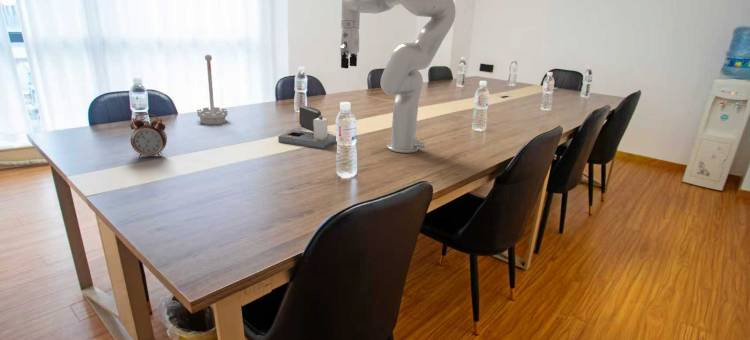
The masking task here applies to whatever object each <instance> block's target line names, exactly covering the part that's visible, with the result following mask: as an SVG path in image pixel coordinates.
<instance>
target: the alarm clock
mask: <svg viewBox="0 0 750 340" xmlns="http://www.w3.org/2000/svg"><path fill="white" fill-rule="evenodd" d="M140 116H152V117H155V119H154V120H152V122H151V123H150V121H148V120H147V121H144V120H142V119H140V118H138V117H140ZM131 120H132V121H130V124H129V127H130V129H131V130H132V133H131V136H130V145H131V147H132V148H133V150H134V151H135V152H137V154H138V155H139V156H138V158H139V159H140V158H141V156H145V157H152V156H153V157H154V156H156V155H157V156H159V158H162V156H161V155H163V151H164V149H165V148H166V147H167V146H166V145H167V141H168V137H167V133H166V131H165V130H166V123H165V122H164V121H163V118H160V119H159V117H157V115H156V114H153V113H140V114H137V115H136V116H135V118H134V117H133V118H132V119H131Z"/></svg>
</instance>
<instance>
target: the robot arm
mask: <svg viewBox="0 0 750 340" xmlns="http://www.w3.org/2000/svg"><path fill="white" fill-rule="evenodd" d="M397 5H401V6H402V7H403V8H404V9H406V10H407V11H408V12H409V13H410V14H412V15H414V16H416V17H423V18H424V17H425V18H430V20H429V21H428V22H427V23H425V25H424V26H423V27H422V28H421V30H420V32H419V34H418V35H417V38H416V39H415V40H414V41H413V42H405V43H402V44H400V45H398V46H397V47H396V48H395V49H394V50H393V52H392V54H391V55H390V58H389V60H388V61H387V62H386V63H387V64H386V66H385V68H384V69H383V72H382V74H381V77H380V87H381V90H382V92H383V93H385V94H386V95H388V96H395V98H394V101H393V108H392V109H393V110H392V124H391V136H390V137H391V139H390V142H388V143H387V144H386V149H387V150H389V151H392V152H396V153H403V154H406V153H407V154H409V153H414V152H415V153H416V152H418V150H419V148H422V149H426V143H425V142H424V141H419V140H418V137H417V135H416V134H417V122H418V112H419V102H420V97H421V92H422V89H423V83H424V82H423V81H424V79H423V75H422V73H421V72H420V71H421V70H426V69H427V68H428V67H429V66H430V65H431V63H432V61H433V60H434V58H435V56H436V54H437V52H438V51H439V49H440V48H441V45H442V44H443V41H444V39H445V38H446V36H447V35H448V34H449V32H450V30H451V28H452V26H453V25H454V23H455V19H456V14H457V13H456V5H455V2H454V0H341V17H340V18H341V19H340V22H341V24H340V29H342V30H341V37H340V39H341V42H340V49H339V50H340V68H341V69H349V66H350V67H357V65H358V53H359V52H360V31H359V30H360V19H361V18H360V17H361V14H372V15H373V14H379V13H383V12H388V11H390V10H392V9H393V8H394V7H395V6H397Z"/></svg>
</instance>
